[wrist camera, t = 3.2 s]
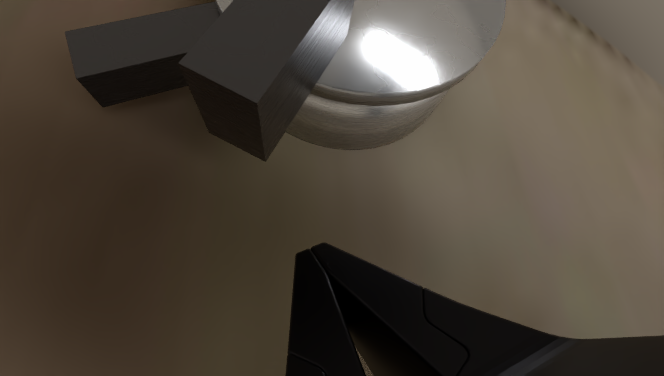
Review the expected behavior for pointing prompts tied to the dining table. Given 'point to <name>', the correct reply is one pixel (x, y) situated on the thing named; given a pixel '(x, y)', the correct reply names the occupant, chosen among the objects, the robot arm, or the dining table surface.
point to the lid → (329, 58)
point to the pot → (165, 74)
